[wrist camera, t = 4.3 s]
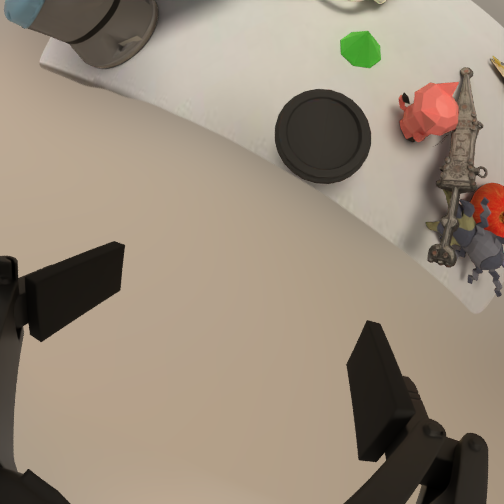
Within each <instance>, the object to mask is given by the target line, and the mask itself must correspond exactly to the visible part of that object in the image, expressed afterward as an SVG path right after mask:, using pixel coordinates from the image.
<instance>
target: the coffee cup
mask: <svg viewBox="0 0 504 504" xmlns="http://www.w3.org/2000/svg"><path fill="white" fill-rule="evenodd" d="M275 143H276V147H277V151H278V153H279V155H280V157H281V159H282V161H283V162H284V164H285V165H286V166H287V167H288V168H289V169H290V170H291V171H292V172H293V173H294V174H296V175H298V176H299V177H301V178H302V179H304V180H308V181H311V182H314V183H322V184H330V183H335V182H340V181H342V180H344V179H346V178H348V177H350V176H352V175H353V174H354V173H355V172H356V171H357V170H358V169H359V168H360V167H361V166H362V164H363V163H364V161H365V160H366V158H367V156H368V153H369V150H370V146H371V131H370V127H369V123H368V120H367V118H366V116H365V115H364V113H363V111H362V109H361V108H360V107H359V106H358V105H357V104H356V103H355V102H354V101H353V100H351V99H350V98H348V97H346V96H345V95H343V94H341V93H338V92H335V91H332V90H324V89H315V90H310V91H305V92H303V93H301V94H299V95H297V96H295V97H293V98H292V99H291V100H290V101H289V102H288V103H287V104H286V105H285V106H284V107H283V109H282V111H281V112H280V114H279V116H278V119H277V122H276V126H275Z"/></svg>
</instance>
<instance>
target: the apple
mask: <svg viewBox="0 0 504 504" xmlns="http://www.w3.org/2000/svg"><path fill="white" fill-rule="evenodd" d="M484 197H485V198H487V199H488V200H489V203H488V204H487V206H488V208H489V210H490V211H491V214H490V215H489V216H488V217H487V221H488V224H489V226H488V227H486V228H484V230H488V231H491V232H492V233H494V234H495V235H497V236H500V237H503V238H504V186H502V185H500V184H497V183H488V184H485V185H483V186H482V187H480V188H479V189H478V190H477V191H476V192H475V194H474V195H473V197H472V199H471V201H470V203H471V204H473V205H474V208H475V212H474V214H473V218H474V220H475V222H476V224H477V223H479V222H481V219H480V214H481V213H482V212H483V211H484V209H483V208H482V206H481V204H480V203H481V201H482V200H483V198H484Z"/></svg>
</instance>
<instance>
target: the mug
mask: <svg viewBox="0 0 504 504" xmlns="http://www.w3.org/2000/svg"><path fill="white" fill-rule="evenodd" d="M348 1H364V0H348ZM374 1H375V2H377V3H378V4H382V3H384V2H385V1H386V0H374Z"/></svg>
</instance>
